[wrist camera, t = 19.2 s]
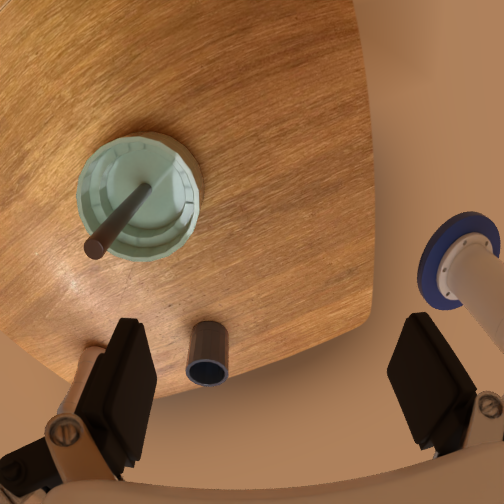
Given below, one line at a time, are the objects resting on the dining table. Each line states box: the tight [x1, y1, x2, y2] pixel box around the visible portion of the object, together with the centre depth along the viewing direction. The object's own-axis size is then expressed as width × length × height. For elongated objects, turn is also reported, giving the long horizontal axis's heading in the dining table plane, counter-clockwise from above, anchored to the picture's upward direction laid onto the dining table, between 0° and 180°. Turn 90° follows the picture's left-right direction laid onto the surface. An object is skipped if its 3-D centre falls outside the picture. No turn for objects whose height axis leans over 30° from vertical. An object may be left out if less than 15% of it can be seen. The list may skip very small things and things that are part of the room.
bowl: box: [76, 131, 204, 262], centre depth 34 cm, size 14×14×6 cm
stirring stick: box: [84, 183, 152, 260], centre depth 29 cm, size 2×2×16 cm
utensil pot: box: [186, 321, 229, 387], centre depth 44 cm, size 6×6×8 cm
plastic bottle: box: [57, 346, 106, 415], centre depth 40 cm, size 6×7×20 cm
